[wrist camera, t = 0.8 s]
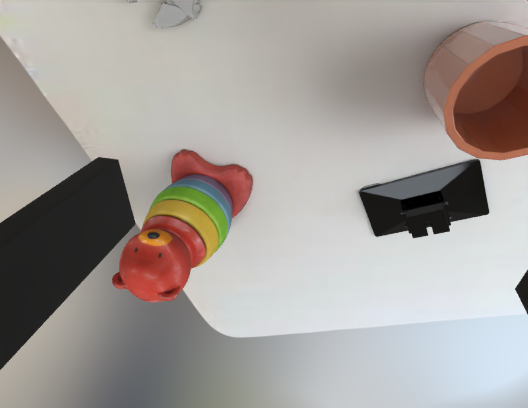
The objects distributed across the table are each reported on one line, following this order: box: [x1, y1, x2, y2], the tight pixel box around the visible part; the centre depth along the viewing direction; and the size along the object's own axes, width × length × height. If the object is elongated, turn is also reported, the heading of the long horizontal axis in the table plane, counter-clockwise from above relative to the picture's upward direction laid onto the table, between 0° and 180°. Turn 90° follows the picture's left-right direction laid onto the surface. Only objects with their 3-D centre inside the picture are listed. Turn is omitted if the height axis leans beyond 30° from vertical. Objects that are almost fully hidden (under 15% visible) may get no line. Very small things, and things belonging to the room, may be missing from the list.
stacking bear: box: [112, 150, 252, 302], centre depth 37 cm, size 11×10×18 cm
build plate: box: [359, 159, 489, 238], centre depth 36 cm, size 12×7×5 cm, turn 116°
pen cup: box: [424, 21, 528, 160], centre depth 26 cm, size 8×8×10 cm
